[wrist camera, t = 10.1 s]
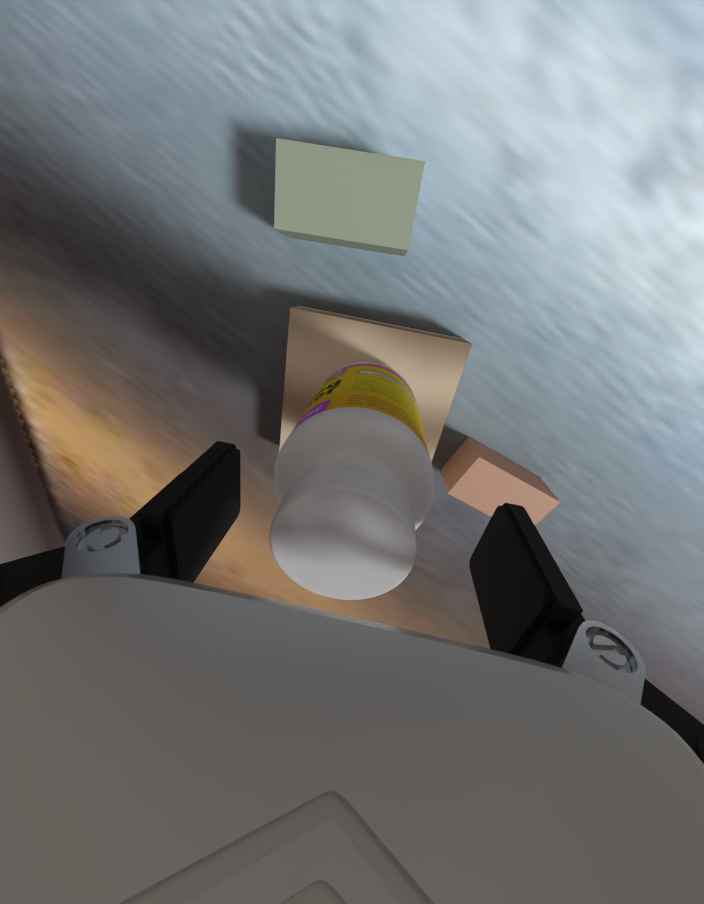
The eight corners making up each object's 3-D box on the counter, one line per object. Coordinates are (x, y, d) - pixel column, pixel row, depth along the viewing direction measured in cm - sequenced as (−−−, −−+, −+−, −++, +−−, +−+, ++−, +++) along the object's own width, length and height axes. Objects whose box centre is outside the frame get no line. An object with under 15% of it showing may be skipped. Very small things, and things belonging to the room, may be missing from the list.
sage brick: (291, 238, 19) (273, 228, 16) (295, 164, 18) (276, 137, 15) (404, 256, 19) (407, 250, 16) (418, 183, 18) (424, 161, 14)
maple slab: (300, 305, 21) (290, 307, 19) (462, 338, 21) (471, 344, 19) (287, 449, 26) (278, 464, 24) (417, 475, 26) (420, 493, 24)
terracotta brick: (440, 468, 26) (447, 493, 23) (467, 435, 24) (479, 456, 21) (508, 505, 27) (525, 534, 24) (539, 476, 25) (560, 502, 22)
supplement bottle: (345, 339, 19) (286, 411, 8) (436, 391, 20) (502, 524, 9) (301, 426, 22) (212, 571, 11) (382, 468, 23) (379, 642, 12)
